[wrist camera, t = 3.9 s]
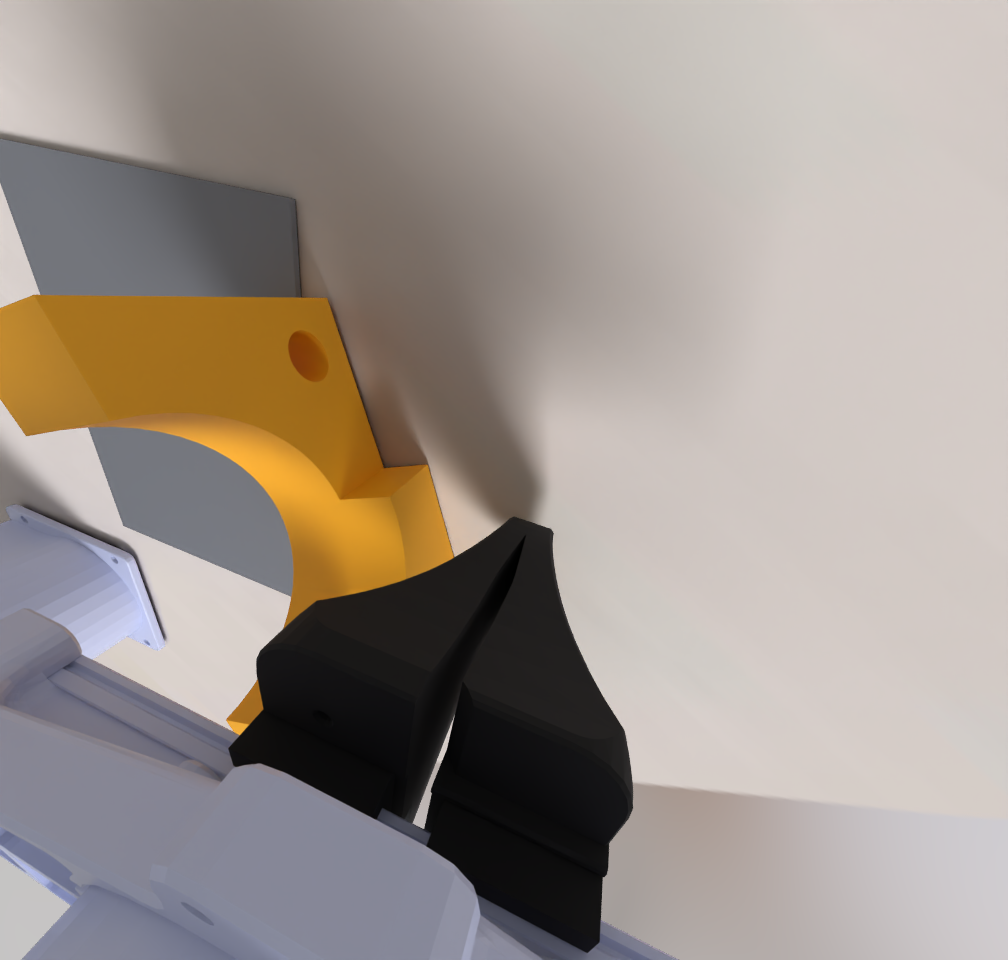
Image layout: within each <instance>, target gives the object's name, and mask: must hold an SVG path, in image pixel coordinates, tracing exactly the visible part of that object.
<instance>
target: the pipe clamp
mask: <svg viewBox="0 0 1008 960" xmlns="http://www.w3.org/2000/svg"><path fill="white" fill-rule="evenodd" d="M0 399H1V401H2V402H3V404H4V405H5V407H6V408H7V409H8V411H9V412H10V414H11V415H12V417H13V418H14V419H15V421H16V422H17V424H18V425H19V427H20V428H21V429H22V431H23V432H24V434H25V435H26V436H30V435H36V434H41V433H47V432H52V431H58V430H66V429H76V428H86V427H122V428H138V429H144V430H151V431H158V432H163V433H167V434H171V435H175V436H179V437H182V438H185V439H188V440H191V441H194V442H197V443H200V444H202V445H204V446H207V447H209V448H211V449H213V450H215V451H217V452H219V453H221V454H222V455H224V456H226V457H228V458H229V459H231V460H232V461H234V462H235V463H237V464H238V465H239V466H241V467H242V468H243V469H245V470H246V471H247V472H248V473H249V474H250V475H251V476H253V477H254V478H255V479H256V480H257V482H258V483H259V484H260V485H261V486H262V487H263V488H264V489H265V491H266V492H267V493H268V495H269V496H270V497H271V499H272V500H273V502H274V504H275V505H276V507H277V509H278V510H279V512H280V515H281V517H282V519H283V521H284V524H285V526H286V529H287V532H288V536H289V540H290V544H291V549H292V556H293V588H292V596H291V602H290V606H289V611H288V615H287V618H286V622H285V625H284V628H285V627H286V626H287V625H288V624H289V623H290V622H291V621H292V620H293V619H295V618H296V617H297V616H298V615H299V614H300V613H302V612H303V611H304V610H305V609H307V608H308V607H309V606H311V605H312V604H313V603H314V602H315V601H317V600H324V599H329V598H334V597H340V596H345V595H350V594H355V593H360V592H364V591H368V590H372V589H376V588H379V587H383V586H387V585H390V584H393V583H396V582H400V581H402V580H405V579H408V578H410V577H413V576H416V575H418V574H421V573H423V572H426V571H428V570H430V569H432V568H434V567H437V566H439V565H441V564H443V563H445V562H447V561H449V560H451V559H452V558H454V556H453V552H452V549H451V545H450V542H449V538H448V535H447V531H446V528H445V524H444V521H443V517H442V514H441V510H440V507H439V503H438V500H437V496H436V492H435V489H434V485H433V482H432V478H431V475H430V471H429V468H428V464H427V465H415V466H403V467H391V468H384V467H383V464H382V461H381V458H380V455H379V452H378V449H377V446H376V443H375V440H374V437H373V434H372V431H371V428H370V425H369V422H368V419H367V416H366V413H365V410H364V407H363V404H362V401H361V398H360V395H359V392H358V389H357V386H356V383H355V380H354V377H353V374H352V371H351V368H350V365H349V362H348V359H347V356H346V353H345V350H344V347H343V344H342V341H341V338H340V335H339V332H338V329H337V326H336V323H335V320H334V317H333V314H332V311H331V308H330V305H329V302H328V299H327V298H296V297H194V296H91V295H32V296H30V297H27V298H25V299H22V300H20V301H17V302H15V303H12V304H10V305H7V306H4V307H2V308H0ZM284 628H283V629H284ZM262 710H263V704H262V699H261V694H260V689H259V684H258V680H257V681H256V683H255V684H254V686H253V687H252V689H251V690H250V691H249V693H248V694H247V695H246V697H245V698H244V699H243V701H242V702H241V703H240V704H239V706H238V707H237V708H236V709H235V710H234V711H233V712H232V714H231V715H230V716H229V717H228V718H227V719H226V721H227V722H228V724H229V725H230V727H231V728H232V729H233V731H234V732H235V733H236V734H238V735H240V734H241V733H242V732H243V731H244V730H245V729H246V728H247V727H248V726H249V725H250V723H251V722H252V721H253V720H254V719H255V718H256V717H257V716H258V715H259V713H260V712H261V711H262Z"/></svg>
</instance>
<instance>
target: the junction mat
mask: <svg viewBox="0 0 1008 960" xmlns="http://www.w3.org/2000/svg"><path fill="white" fill-rule="evenodd" d="M0 183H1V186H2V189H3V191H4V194H5V197H6V200H7V203H8V205H9V208H10V211H11V214H12V217H13V219H14V222H15V225H16V228H17V230H18V233H19V236H20V239H21V242H22V244H23V247H24V250H25V253H26V256H27V258H28V261H29V264H30V267H31V269H32V272H33V275H34V278H35V281H36V283H37V286H38V289H39V292H40V295H91V296H194V297H296V298H301V290H300V274H299V257H298V240H297V223H296V207H295V199H292V198H288V197H283V196H278V195H273V194H268V193H264V192H259V191H254V190H249V189H244V188H239V187H234V186H229V185H224V184H220V183H215V182H210V181H205V180H200V179H195V178H190V177H185V176H180V175H176V174H171V173H166V172H161V171H156V170H151V169H146V168H141V167H136V166H132V165H127V164H122V163H117V162H112V161H107V160H102V159H97V158H92V157H88V156H83V155H78V154H73V153H68V152H63V151H58V150H53V149H48V148H43V147H39V146H34V145H29V144H24V143H19V142H14V141H9V140H4V139H0ZM88 428H89V431H90V434H91V437H92V439H93V442H94V445H95V448H96V451H97V453H98V456H99V459H100V462H101V464H102V467H103V470H104V473H105V476H106V478H107V481H108V484H109V487H110V490H111V492H112V495H113V498H114V501H115V503H116V506H117V509H118V512H119V515H120V517H121V520H122V523H123V526H125V527H127V528H130V529H132V530H135V531H137V532H139V533H142V534H144V535H146V536H149V537H151V538H154V539H156V540H158V541H161V542H163V543H165V544H168V545H170V546H173V547H175V548H177V549H180V550H182V551H184V552H187V553H189V554H191V555H194V556H196V557H199V558H201V559H203V560H206V561H208V562H210V563H213V564H215V565H218V566H220V567H222V568H225V569H227V570H229V571H232V572H234V573H237V574H239V575H241V576H244V577H246V578H248V579H251V580H253V581H256V582H258V583H260V584H263V585H265V586H267V587H270V588H272V589H274V590H277V591H279V592H282V593H284V594H286V595H289V596H292V588H293V556H292V549H291V544H290V540H289V536H288V532H287V529H286V526H285V524H284V521H283V519H282V517H281V515H280V512H279V510H278V509H277V507H276V505H275V504H274V502H273V500H272V499H271V497H270V496H269V495H268V493H267V492H266V491H265V489H264V488H263V487H262V486H261V485H260V484H259V483H258V482H257V480H256V479H255V478H254V477H253V476H251V475H250V474H249V473H248V472H247V471H246V470H245V469H243V468H242V467H241V466H239V465H238V464H237V463H235V462H234V461H232V460H231V459H229V458H228V457H226V456H224V455H222V454H221V453H219V452H217V451H215V450H213V449H211V448H209V447H207V446H204V445H202V444H200V443H197V442H194V441H191V440H188V439H185V438H182V437H179V436H175V435H171V434H167V433H163V432H158V431H151V430H144V429H138V428H122V427H88Z"/></svg>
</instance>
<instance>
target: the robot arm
mask: <svg viewBox="0 0 1008 960" xmlns="http://www.w3.org/2000/svg"><path fill="white" fill-rule="evenodd" d="M6 511H7V513H8V515H9V517H10V519H11V520H9V521H6V522H3V523H1V524H0V856H1V857H3V858H4V859H6V860H7V861H8V862H10V863H11V864H13V865H14V866H15V867H17V868H18V869H20V870H21V871H23V872H24V873H25V874H27V875H28V876H30V877H31V878H32V879H34V880H35V881H37V882H38V883H40V884H41V885H42V886H44V887H45V888H47V889H48V890H49V891H51V892H52V893H54V894H55V895H57V896H58V897H59V898H61V899H62V900H64V901H65V902H66V903H68V904H69V905H71V907H70V908H69V909H68V910H67V911H66V912H65V913H64V914H63V915H62V916H61V917H60V919H59V920H58V921H57V922H56V923H55V924H54V925H53V926H52V927H51V928H50V929H49V930H48V932H47V933H46V934H45V935H44V936H43V937H42V938H41V939H40V940H39V941H38V942H37V943H36V944H35V946H34V947H33V948H32V949H31V950H30V951H29V952H28V953H27V954H26V955H25V956H24V958H22V960H678V959H676V958H674V957H672V956H671V955H669V954H667V953H665V952H663V951H661V950H659V949H657V948H655V947H653V946H651V945H649V944H647V943H645V942H643V941H641V940H639V939H637V938H635V937H633V936H631V935H629V934H628V933H626V932H624V931H622V930H620V929H618V928H616V927H614V926H612V925H610V924H608V923H606V922H604V921H602V920H601V902H602V901H601V900H602V881H603V880H602V879H603V877H605V876H606V875H607V871H608V857H609V843H610V841H611V840H612V839H613V837H614V836H615V835H616V834H617V833H618V831H619V830H620V829H621V828H622V826H623V825H624V824H625V822H626V821H627V820H628V818H629V816H630V814H631V812H632V809H633V783H632V774H631V765H630V758H629V752H628V746H627V741H626V736H625V731H624V729H623V727H622V726H621V724H620V723H619V721H618V720H617V718H616V716H615V715H614V713H613V712H612V710H611V708H610V707H609V705H608V704H607V702H606V701H605V699H604V697H603V696H602V694H601V692H600V690H599V688H598V687H597V685H596V683H595V681H594V679H593V677H592V675H591V674H590V672H589V669H588V667H587V665H586V663H585V661H584V659H583V657H582V654H581V652H580V650H579V648H578V646H577V644H576V641H575V639H574V636H573V634H572V631H571V629H570V626H569V623H568V620H567V617H566V614H565V611H564V608H563V605H562V601H561V597H560V593H559V589H558V585H557V580H556V574H555V568H554V560H553V545H552V543H553V534H554V533H553V531H552V530H551V529H549V528H546V527H543V526H540V525H538V524H535V523H532V522H529V521H526V520H523V519H520V518H517V517H512V518H510V519H509V520H508V521H507V522H505V523H504V524H503V525H502V526H501V527H499V528H498V529H497V530H496V531H494V532H493V533H492V534H490V535H489V536H487V537H486V538H485V539H483V540H482V541H480V542H479V543H477V544H476V545H474V546H473V547H471V548H470V549H468V550H466V551H464V552H463V553H461V554H459V555H458V556H456V557H454V558H452V559H451V560H449V561H447V562H445V563H443V564H441V565H439V566H437V567H434V568H432V569H430V570H428V571H426V572H423V573H421V574H418V575H416V576H413V577H410V578H408V579H405V580H402V581H400V582H396V583H393V584H390V585H387V586H383V587H379V588H376V589H372V590H368V591H364V592H360V593H355V594H350V595H345V596H340V597H334V598H329V599H324V600H317V601H315V602H314V603H313V604H312V605H311V606H309V607H308V608H307V609H305V610H304V611H303V612H302V613H300V614H299V615H298V616H297V617H296V618H295V619H293V620H292V621H291V622H290V623H289V624H288V625H287V626H286V627H285V628H284V629H283V630H282V631H281V632H280V633H278V634H277V635H276V636H275V637H274V638H273V639H272V640H271V641H270V642H269V643H268V644H267V645H266V646H265V647H264V648H263V649H262V650H261V651H260V653H259V655H258V657H257V661H256V667H257V679H258V684H259V689H260V694H261V699H262V704H263V710H262V711H261V712H260V713H259V715H258V716H257V717H256V718H255V719H254V720H253V721H252V722H251V723H250V725H249V726H248V727H247V728H246V729H245V730H244V731H243V732H242V733H241V734H240V735H238V734H236V733H235V732H233V731H231V730H229V729H227V728H225V727H223V726H221V725H219V724H217V723H215V722H213V721H211V720H209V719H207V718H205V717H203V716H201V715H199V714H197V713H195V712H193V711H191V710H190V709H188V708H186V707H184V706H182V705H180V704H178V703H176V702H174V701H172V700H170V699H168V698H166V697H164V696H162V695H160V694H158V693H156V692H154V691H152V690H150V689H148V688H147V687H145V686H143V685H141V684H139V683H137V682H135V681H133V680H131V679H129V678H127V677H125V676H123V675H121V674H119V673H117V672H115V671H113V670H111V669H109V668H107V667H105V666H103V665H102V664H100V663H98V662H96V661H94V660H93V659H94V658H96V657H97V656H99V655H100V654H102V653H103V652H105V651H106V650H108V649H109V648H111V647H112V646H114V645H115V644H117V643H118V642H120V641H121V640H123V639H124V638H126V637H129V638H131V639H134V640H136V641H138V642H140V643H142V644H144V645H146V646H148V647H150V648H152V649H154V650H160V649H162V648H163V647H164V646H165V641H164V639H163V636H162V633H161V630H160V628H159V625H158V622H157V619H156V616H155V614H154V611H153V608H152V605H151V602H150V600H149V597H148V594H147V591H146V589H145V586H144V583H143V580H142V577H141V575H140V572H139V569H138V566H137V564H136V561H135V559H134V558H133V556H132V555H130V554H129V553H127V552H125V551H123V550H121V549H118V548H116V547H114V546H111V545H109V544H107V543H104V542H102V541H100V540H98V539H95V538H93V537H91V536H88V535H86V534H84V533H82V532H79V531H77V530H75V529H72V528H70V527H68V526H66V525H63V524H61V523H59V522H56V521H54V520H52V519H50V518H47V517H45V516H43V515H40V514H38V513H36V512H33V511H31V510H29V509H27V508H24V507H22V506H20V505H17V504H14V505H11V506H8V507H6ZM454 715H455V717H454ZM453 717H454V721H453V725H452V730H451V734H450V739H449V743H448V747H447V751H446V753H445V756H444V758H443V760H442V763H441V765H440V768H439V770H438V773H437V775H436V778H435V780H434V783H433V786H432V788H431V793H432V795H431V800H430V805H429V809H428V814H427V819H426V823H425V828H424V829H422V828H420V827H418V826H416V825H414V824H412V823H413V821H414V818H415V815H416V813H417V810H418V808H419V805H420V802H421V800H422V797H423V794H424V792H425V789H426V786H427V784H428V781H429V779H430V776H431V774H432V771H433V769H434V766H435V763H436V761H437V758H438V756H439V753H440V751H441V748H442V745H443V743H444V740H445V738H446V735H447V733H448V730H449V728H450V725H451V722H452V720H453Z"/></svg>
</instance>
